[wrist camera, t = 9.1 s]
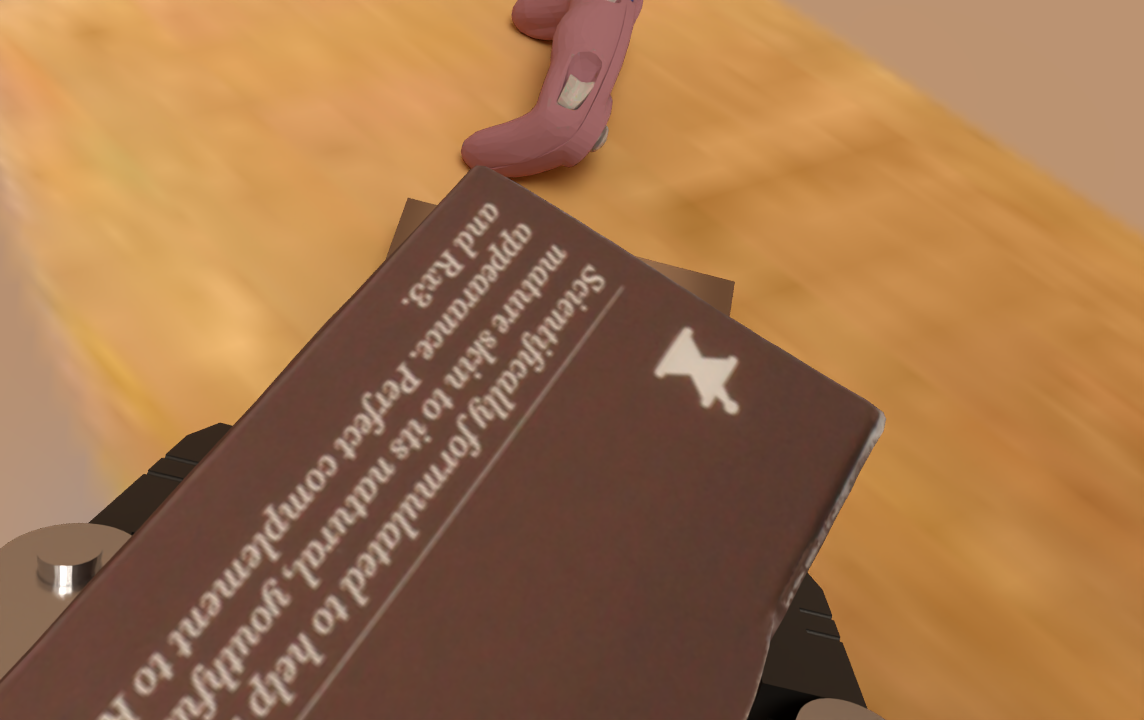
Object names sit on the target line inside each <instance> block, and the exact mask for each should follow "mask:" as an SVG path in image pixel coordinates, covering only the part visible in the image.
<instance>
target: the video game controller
mask: <svg viewBox="0 0 1144 720" xmlns="http://www.w3.org/2000/svg"><path fill="white" fill-rule="evenodd" d="M642 4H643V0H518V1H517V2H516V4H515V5H514V7H513V10H512V20H513V22H514V24H515V26H516V27H517V28H518V30H519V31H520V32H522V33H524V34H526V35H528V36H530V37H532V38H536V39H542V40H553V43H552V51H551V65H550V68H549V70H548V73H547V75H546V78H545V81H544V83H543V86H542V89H541V92H540V95H539V98H538V101H537V104H536V105H535V107H534V108H533V109H532V110H531V111H530V112H529V113H527V114H525V115H523V116H522V117H519V118H517V119H514V120H512V121H509V122H506V123H503V124H500V125H496V126H492V127H489V128H486V129H483V130H480V131H477V132H475V133H474V134H473V135H471V136H470V137H469V138H467V139H466V140H465V141H464V142H463V145H462V149H461V154H462V158H463V160H464V161H465V163H466V164H467V165H468V166H469V167H470V168H471V169H472V168H473V167H475V166H486V167H488V168H490V169H492V170H494V171H496V172H497V173H499V174H501V175H503V176H505V177H522V176H529V175H534V174H538V173H541V172H545V171H548V170H551V169H553V168H556V167H559V166H562V165H563V166H565V167H572V166H574V165H576V164H577V163H578V162H580V161H581V160H582V159H583V158H584V157H585V156H586V155H587V154H588V153H589V151H591V152H594V151H596V150H598V149H599V148H601V147H602V146H603V145H604V143H605V142H606V139H607V135H608V127H607V126H606V124H607V121H608V119H609V117H610V114H611V109H612V98H611V95H610V93H611V91H612V89H613V86H614V84H615V81H616V79H617V77H618V74H619V72H620V69H621V67H622V64H623V61H624V58H625V54H626V51H627V48H628V45H629V41H630V37H631V33H632V29H633V25H634V23H635V21H636V19H637V18H638V16H639V13H640V11H641V8H642Z"/></svg>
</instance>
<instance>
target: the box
mask: <svg viewBox="0 0 1144 720" xmlns="http://www.w3.org/2000/svg"><path fill="white" fill-rule="evenodd" d="M885 421H886V418H885V415H884V413H883V412H882V411H881V410H879V409H878V408H877V407H875V406H874V405H873V404H871V403H870V402H869V401H867V400H866V399H864V398H862V397H860V396H859V395H857V394H855V393H854V392H852V391H850V390H848V389H847V388H845V387H843V386H841V385H840V384H838V383H836V382H835V381H833V380H831V379H830V378H828V377H826V376H825V375H823V374H821V373H820V372H818V371H817V370H815V369H813V368H812V367H810V366H808V365H807V364H805V363H803V362H802V361H800V360H799V359H797V358H795V357H794V356H792V355H791V354H789V353H787V352H786V351H784V350H782V349H781V348H779V347H778V346H776V345H774V344H772V343H771V342H769V341H767V340H765V339H764V338H762V337H760V336H759V335H757V334H756V333H754V332H753V331H751V330H750V329H748V328H747V327H745V326H744V325H742V324H740V323H739V322H737V321H735V320H734V319H732V318H730V317H729V316H727V315H725V314H724V313H722V312H720V311H719V310H717V309H716V308H714V307H713V306H711V305H710V304H708V303H707V302H705V301H704V300H702V299H701V298H699V297H698V296H696V295H695V294H693V293H692V292H690V291H688V290H687V289H685V288H684V287H682V286H680V285H679V284H677V283H676V282H674V281H673V280H671V279H670V278H668V277H666V276H665V275H663V274H662V273H660V272H659V271H657V270H656V269H654V268H653V267H651V266H649V265H648V264H646V263H645V262H643V261H641V260H640V259H638V258H636V257H635V256H633V255H632V254H630V253H629V252H627V251H626V250H624V249H622V248H621V247H619V246H618V245H616V244H615V243H613V242H612V241H610V240H609V239H607V238H605V237H603V236H602V235H600V234H598V233H597V232H595V231H594V230H592V229H591V228H589V227H588V226H586V225H585V224H583V223H582V222H580V221H578V220H577V219H575V218H573V217H572V216H570V215H569V214H567V213H565V212H564V211H562V210H560V209H559V208H557V207H556V206H554V205H552V204H551V203H549V202H547V201H546V200H544V199H542V198H541V197H539V196H537V195H536V194H534V193H533V192H531V191H529V190H528V189H526V188H524V187H523V186H521V185H519V184H518V183H516V182H514V181H512V180H510V179H509V178H507V177H505V176H503V175H501V174H499V173H497V172H496V171H494V170H492V169H490V168H488V167H486V166H475V167H473V168H472V169H471V170H469V172H468V173H467V174H466V175H465V176H464V177H463V178H462V179H461V181H460V182H459V183H458V184H457V185H456V186H455V187H454V188H453V189H452V190H451V191H450V192H449V194H448V195H447V196H446V197H445V198H444V199H443V200H442V201H441V202H440V203H439V204H438V205H437V206H436V207H435V209H434V210H433V211H432V212H431V213H430V214H429V215H428V216H427V217H426V218H425V219H424V220H423V221H422V223H421V224H420V225H419V226H418V227H417V228H416V229H415V230H414V231H413V232H412V233H411V234H410V235H409V236H408V237H407V238H406V239H405V240H404V242H403V243H402V244H401V245H400V246H399V247H398V248H397V249H396V250H395V251H394V252H393V253H392V254H391V255H390V256H389V257H388V258H387V259H386V260H385V261H384V262H383V263H382V264H381V266H380V267H379V268H378V269H377V270H376V271H375V272H374V273H373V274H372V275H371V276H370V277H369V278H368V280H367V281H366V282H365V283H364V284H363V285H362V286H361V287H360V288H359V289H358V290H357V291H356V292H355V293H354V294H353V295H352V297H351V298H350V299H349V300H348V301H347V302H346V303H345V304H344V305H343V306H342V307H341V308H340V309H339V310H338V311H337V312H336V313H335V314H334V315H333V316H332V317H331V318H330V319H329V320H328V321H327V322H326V323H325V324H324V325H323V326H322V328H321V329H320V330H319V331H318V332H317V333H316V334H315V335H314V336H313V338H312V339H311V340H310V341H309V342H308V343H307V344H306V345H305V346H304V348H303V349H302V350H301V351H300V352H299V353H298V354H297V355H296V356H295V357H294V359H293V360H292V361H291V362H290V363H289V364H288V365H287V367H286V368H285V369H284V370H283V371H282V372H281V373H280V375H279V376H278V377H277V378H276V379H275V380H274V381H273V382H272V384H271V385H270V386H269V387H268V388H267V389H266V390H265V392H264V393H263V394H262V395H261V396H260V397H259V398H258V400H257V401H256V402H255V403H254V404H253V405H252V406H251V407H250V408H249V409H248V410H247V411H246V412H245V414H244V415H243V416H242V417H241V418H240V419H239V420H238V421H237V422H236V423H235V424H234V425H233V426H232V427H231V429H230V430H229V431H228V432H227V433H226V434H225V435H224V436H223V437H222V438H221V439H220V440H219V441H218V442H217V444H216V445H215V446H214V447H213V448H212V449H211V450H210V451H209V452H208V453H207V454H206V455H205V456H204V457H203V459H202V460H201V461H200V462H199V463H198V464H197V465H196V466H195V467H194V468H193V469H192V471H191V472H190V473H189V474H188V475H187V476H186V477H185V478H184V479H183V480H182V482H181V483H180V484H179V485H178V486H177V487H176V488H175V489H174V490H173V491H172V493H171V494H170V495H169V496H168V497H167V498H166V499H165V500H164V501H163V502H162V504H161V505H160V506H159V507H158V508H157V509H156V510H155V511H154V512H153V513H152V515H151V516H150V517H149V518H148V519H147V520H146V521H145V522H144V523H143V524H142V526H141V527H140V528H139V529H138V530H137V531H136V532H135V533H134V534H133V535H132V536H131V537H130V538H129V539H128V541H127V542H126V543H125V544H124V545H123V546H122V547H121V548H120V549H119V550H118V551H117V552H116V553H115V554H114V555H113V557H112V558H111V559H110V560H109V561H108V562H107V563H106V564H105V565H104V566H103V567H102V568H101V569H100V570H99V572H98V573H97V574H96V575H95V576H94V577H93V578H92V579H91V580H90V581H89V583H88V584H87V585H86V586H85V587H84V588H83V589H82V590H81V592H80V593H79V594H78V595H77V596H76V597H75V598H74V600H73V601H72V602H71V603H70V604H69V605H68V606H67V607H66V609H65V610H64V611H63V612H62V613H61V614H60V615H59V616H58V618H57V619H56V620H55V621H54V622H53V623H52V624H51V625H50V627H49V628H48V629H47V630H46V631H45V632H44V633H43V634H42V635H41V637H40V638H39V639H38V640H37V641H36V642H35V643H34V644H33V645H32V647H31V648H30V649H29V650H28V651H27V652H26V653H25V654H24V655H23V656H22V657H21V658H20V659H19V660H18V661H17V662H16V664H15V665H14V666H13V667H12V668H11V669H10V670H9V671H8V672H7V673H6V674H5V675H4V676H3V677H2V678H1V680H0V720H747V718H748V715H749V712H750V710H751V707H752V705H753V702H754V699H755V696H756V693H757V690H758V686H759V683H760V680H761V676H762V673H763V669H764V665H765V661H766V657H767V653H768V649H769V644H770V641H771V639H772V637H773V636H774V634H775V632H776V630H777V629H778V627H779V625H780V624H781V622H782V620H783V618H784V617H785V615H786V613H787V611H788V609H789V607H790V605H791V602H792V600H793V598H794V596H795V594H796V592H797V590H798V588H799V586H800V584H801V582H802V581H803V579H804V577H805V575H806V573H807V572H808V570H809V568H810V566H811V564H812V563H813V561H814V559H815V557H816V555H817V553H818V552H819V550H820V548H821V546H822V544H823V542H824V540H825V538H826V536H827V534H828V533H829V531H830V529H831V527H832V525H833V523H834V521H835V519H836V517H837V515H838V513H839V511H840V509H841V508H842V506H843V504H844V502H845V500H846V499H847V497H848V495H849V493H850V491H851V489H852V487H853V485H854V483H855V481H856V479H857V477H858V475H859V472H860V471H861V469H862V467H863V465H864V463H865V462H866V460H867V458H868V456H869V454H870V453H871V451H872V449H873V447H874V446H875V444H876V442H877V441H878V439H879V437H880V436H881V434H882V432H883V431H884V426H885Z"/></svg>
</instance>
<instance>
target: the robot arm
mask: <svg viewBox="0 0 1144 720" xmlns="http://www.w3.org/2000/svg"><path fill="white" fill-rule="evenodd" d="M231 427H232V426H231V425H227V424H223V423H218V424H216V425H213V426H210V427H208V428H205V429H202V430H200V431H197V432H195V433H192V434H189V435H187V436H186V437H185V438H184V439H182V440H181V441H180V442H179V443H178V444H177V445H176V446H175V447H173V448H172V449H171V450H170V451H169V452H168V453H167V454H166V456H165V458H161V459H160V460H159V461H158V462H157V463H155V464H154V465H153V466H152V467H151V468H150V469H149V470H148V473H147V475H146V474H143V475H142V476H141V477H140V478H139V479H137V480H136V481H135V482H134V483H133V484H132V485H131V486H130V487H128V488H127V489H126V490H125V491H124V492H123V493H122V494H121V495H119V496H118V497H117V498H116V499H115V500H114V501H113V502H112V503H110V504H109V505H108V506H107V507H106V508H105V509H104V510H103V511H101V512H100V513H99V514H98V515H97V516H96V517H95V518H93V519H92V520H91V521H90V522H89V523H72V524H61V525H54V526H50V527H45V528H40V529H37V530H34V531H31V532H28V533H26V534H24V535H21V536H19V537H17V538H15V539H14V540H12V541H10V542H8V543H7V544H6V545H5V546H3V547H2V548H1V549H0V680H1V678H2V677H3V676H4V675H5V674H6V673H7V672H8V671H9V670H10V669H11V668H12V667H13V666H14V665H15V664H16V662H17V661H18V660H19V659H20V658H21V657H22V656H23V655H24V654H25V653H26V652H27V651H28V650H29V649H30V648H31V647H32V645H33V644H34V643H35V642H36V641H37V640H38V639H39V638H40V637H41V635H42V634H43V633H44V632H45V631H46V630H47V629H48V628H49V627H50V625H51V624H52V623H53V622H54V621H55V620H56V619H57V618H58V616H59V615H60V614H61V613H62V612H63V611H64V610H65V609H66V607H67V606H68V605H69V604H70V603H71V602H72V601H73V600H74V598H75V597H76V596H77V595H78V594H79V593H80V592H81V590H82V589H83V588H84V587H85V586H86V585H87V584H88V583H89V581H90V580H91V579H92V578H93V577H94V576H95V575H96V574H97V573H98V572H99V570H100V569H101V568H102V567H103V566H104V565H105V564H106V563H107V562H108V561H109V560H110V559H111V558H112V557H113V555H114V554H115V553H116V552H117V551H118V550H119V549H120V548H121V547H122V546H123V545H124V544H125V543H126V542H127V541H128V539H129V538H130V537H131V536H132V535H133V534H134V533H135V532H136V531H137V530H138V529H139V528H140V527H141V526H142V524H143V523H144V522H145V521H146V520H147V519H148V518H149V517H150V516H151V515H152V513H153V512H154V511H155V510H156V509H157V508H158V507H159V506H160V505H161V504H162V502H163V501H164V500H165V499H166V498H167V497H168V496H169V495H170V494H171V493H172V491H173V490H174V489H175V488H176V487H177V486H178V485H179V484H180V483H181V482H182V480H183V479H184V478H185V477H186V476H187V475H188V474H189V473H190V472H191V471H192V469H193V468H194V467H195V466H196V465H197V464H198V463H199V462H200V461H201V460H202V459H203V457H204V456H205V455H206V454H207V453H208V452H209V451H210V450H211V449H212V448H213V447H214V446H215V445H216V444H217V442H218V441H219V440H220V439H221V438H222V437H223V436H224V435H225V434H226V433H227V432H228V431H229V430H230V429H231ZM831 618H832V614H831V611H830V608H829V606H828V603H827V600H826V598H825V595H824V593H823V590H822V589H821V588H820V586H819V585H818V584H817V583H816V582H815V581H814V580H813V578H812V577H811V576H810V575H809V574H808V573H806V575H805V577H804V579H803V581H802V582H801V584H800V586H799V588H798V590H797V592H796V594H795V596H794V598H793V600H792V602H791V605H790V607H789V609H788V611H787V613H786V615H785V617H784V618H783V620H782V622H781V624H780V625H779V627H778V629H777V630H776V632H775V634H774V636H773V637H772V639H771V641H770V644H769V649H768V653H767V657H766V661H765V665H764V669H763V673H762V676H761V680H760V683H759V686H758V690H757V693H756V696H755V699H754V702H753V705H752V707H751V710H750V712H749V715H748V718H747V720H885V719H884V718H882V717H881V716H879V715H877V714H876V713H874V712H872V711H870V710H868V709H867V706H866V704H865V701H864V698H863V696H862V693H861V690H860V688H859V685H858V682H857V680H856V677H855V675H854V672H853V669H852V667H851V664H850V661H849V659H848V656H847V653H846V651H845V648H844V645H843V643H842V642H840V635H839V632H838V630H837V627H836V624H835V622H834V620H831Z"/></svg>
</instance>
